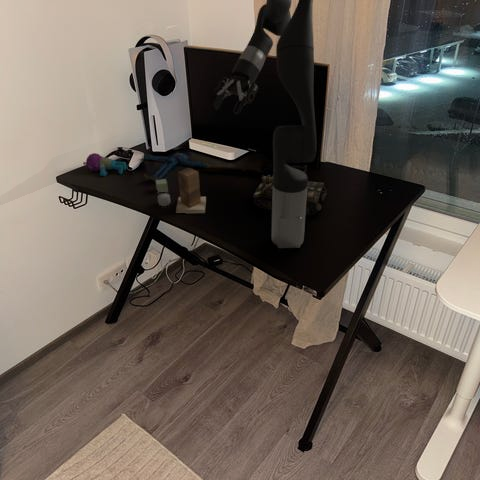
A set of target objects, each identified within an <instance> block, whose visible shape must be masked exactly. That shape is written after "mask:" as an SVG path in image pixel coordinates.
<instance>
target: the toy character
mask: <svg viewBox="0 0 480 480" xmlns="http://www.w3.org/2000/svg"><path fill="white" fill-rule="evenodd" d="M143 155H144V160H145V161H154V160H155V161H161V162H163V161H164V162H163V164H162V165H161V166H160V167H159V169H157V171H156V172H155V173H153V174H152V175H151V176H149V175H147V174H146V173H144V174H142V175H143V178H144V179H145V181H146V182H148V183H149V182H153V183H155V184H156V181H155V180H161V179H163V178H165V176H167V175H168V172H170V170H171V169H172V168H175V167H176V166H177V164H184V165H185V164H186V165H190V166H193V167H196V166H197V167H198V166H201V167H210V168H211V165H210V164H208V163H207V162H198V161H191V160H189V158H190V156H189V155H187V154H185V153H181V152H176V153H174V154H173V155H172V156H169V157H168V156H156V155H155V156H154V155H152V154H149V153H144V154H143Z"/></svg>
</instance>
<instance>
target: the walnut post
mask: <svg viewBox="0 0 480 480" xmlns="http://www.w3.org/2000/svg"><path fill="white" fill-rule="evenodd" d="M199 173H200V172H199V171H198V170H195V169H193V168H190V167H187V168H184V169H182V170H180V171H177V177H178V186H179V195H180V196H179V197H181V204H183V205H185V206H187V207H190V208H191V207H193V206H195V205H197V204H199V203H201V199H200V197H201V189H200V187H201V186H200V175H199Z"/></svg>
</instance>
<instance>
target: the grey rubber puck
mask: <svg viewBox="0 0 480 480" xmlns="http://www.w3.org/2000/svg"><path fill="white" fill-rule="evenodd" d="M157 203H158V204H159V205H161V206H167V205H169V204H170V203H171V195H170V194H169V193H159V194H157ZM171 204H172V203H171ZM159 205H158V206H159Z"/></svg>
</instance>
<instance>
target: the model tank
mask: <svg viewBox="0 0 480 480" xmlns="http://www.w3.org/2000/svg"><path fill="white" fill-rule="evenodd" d="M291 167H292V168H299V169H300V168H302V169H303V171H302V172H304V173H305V174H306V175H307V166H306V165H305V164H304V165H303V166H299V165H291ZM260 182H261V183H260V184H259V186H258V187H257V188H256V190H255V192H254V194H253V203H254V205H255V206H256V207H259V208H260V209H263V210H270V211H272V196H273V174H271V175H270V174H268V175H267V176H265V175H263V174H262V175H261V177H260ZM327 190H328V186H326V183H325V182H318V181H312V180H311V181H309V180H308V186H307V200H306V214H305V216H312V215H316V214H317V213H318V211H321V210H322V204H323V203H324V200H325V199H326V195H327Z"/></svg>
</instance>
